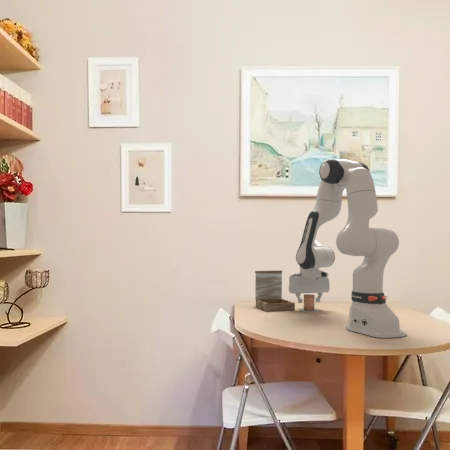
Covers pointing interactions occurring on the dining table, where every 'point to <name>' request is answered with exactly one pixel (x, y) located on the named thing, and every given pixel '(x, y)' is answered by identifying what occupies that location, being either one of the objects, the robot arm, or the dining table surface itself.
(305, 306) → the orange cylinder
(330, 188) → the robot arm
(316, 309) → the grey flat disc
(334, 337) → the dining table surface
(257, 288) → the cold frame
